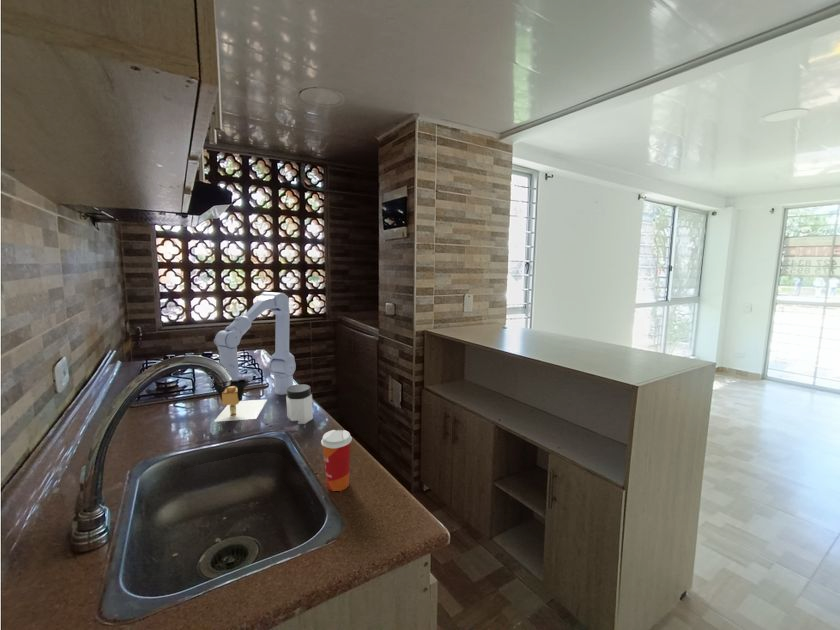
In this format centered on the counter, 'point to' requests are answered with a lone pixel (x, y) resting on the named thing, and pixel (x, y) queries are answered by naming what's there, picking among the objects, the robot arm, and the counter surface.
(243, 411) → the white board
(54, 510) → the counter surface
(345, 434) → the paper cup
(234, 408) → the post
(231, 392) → the orange domed block
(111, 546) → the counter surface
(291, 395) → the jar
